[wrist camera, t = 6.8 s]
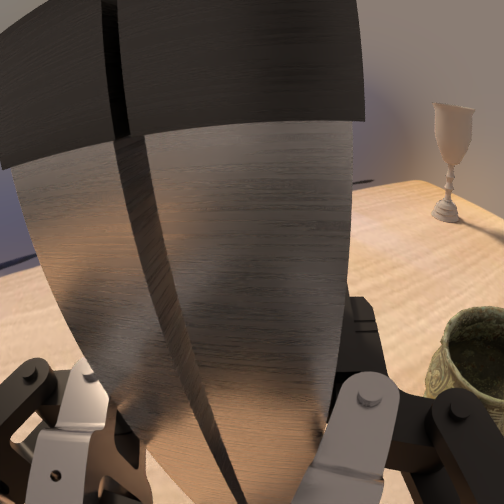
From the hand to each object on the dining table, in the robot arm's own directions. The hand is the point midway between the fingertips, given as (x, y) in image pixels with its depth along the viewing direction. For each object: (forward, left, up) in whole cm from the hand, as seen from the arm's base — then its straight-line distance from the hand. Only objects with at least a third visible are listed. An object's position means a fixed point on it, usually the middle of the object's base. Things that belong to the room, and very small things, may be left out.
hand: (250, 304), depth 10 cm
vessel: (+14, -4, -13) cm, 19 cm away
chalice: (+41, +20, -13) cm, 47 cm away
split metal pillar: (-2, -3, -12) cm, 12 cm away
